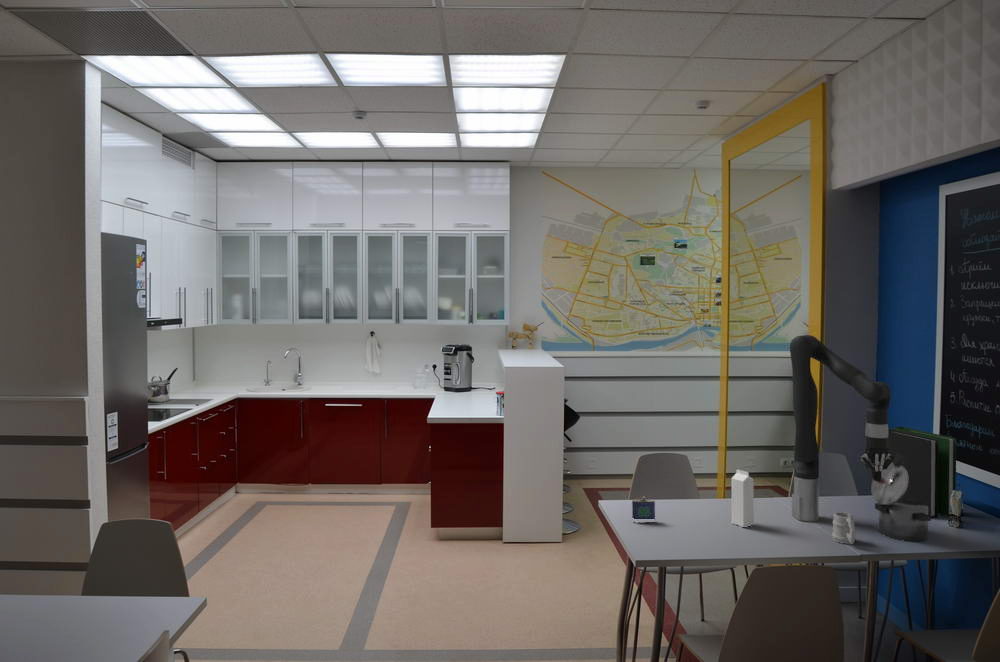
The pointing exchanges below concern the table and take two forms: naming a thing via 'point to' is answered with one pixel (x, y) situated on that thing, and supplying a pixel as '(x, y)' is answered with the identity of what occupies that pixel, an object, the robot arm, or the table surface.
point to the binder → (926, 466)
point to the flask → (643, 509)
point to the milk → (742, 499)
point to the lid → (891, 482)
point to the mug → (843, 528)
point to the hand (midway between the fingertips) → (876, 480)
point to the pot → (904, 520)
